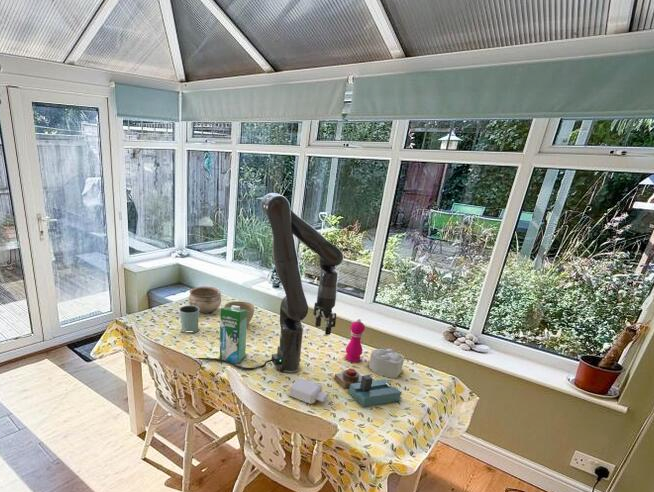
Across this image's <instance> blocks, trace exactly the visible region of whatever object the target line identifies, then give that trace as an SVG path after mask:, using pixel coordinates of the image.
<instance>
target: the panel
mask: <svg viewBox="0 0 654 492" xmlns="http://www.w3.org/2000/svg"><path fill="white" fill-rule="evenodd" d="M347 371H348V369H345V370H343V372H340V373H339V372H338V373H335V374H334V380H335V381H336V382H338V384H339V385H341V386H342V388H343V389H349V388H350V384H353V383H360V382H361V379H362V376H363V375H361V374H360V372H358V371H357V370H356V374H355V376H350V375H348V374H347Z"/></svg>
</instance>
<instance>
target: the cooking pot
mask: <svg viewBox="0 0 654 492" xmlns="http://www.w3.org/2000/svg"><path fill="white" fill-rule="evenodd" d="M189 293H190V294H189V295H188V302H187V304H189V306H197V307H198V308H199V313H201V314H209V313H212V312H213V311H215V310H217V309H219V307H220V306H221V303H222V297H221V296H222V295H221V294H222V293H221V290H220V289H219V288H217V287H214V286H196V287H193V288H191V289H190V290H189Z"/></svg>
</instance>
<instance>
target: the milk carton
mask: <svg viewBox="0 0 654 492" xmlns="http://www.w3.org/2000/svg"><path fill="white" fill-rule="evenodd" d="M219 313H220V316H219V317H220V319H219V321H220V323H219V325H220V326H219V331H220V332H219V359H222V360H226V361H230V362H232V363H234V364H236V365H238V364H239V363H241V361H242V360H243V359H244V357H246V350H247V349H246V348H247V347H246V346H247V327H248V326H247V310H244V309H240V306H234V305H232V306H231V307H225V308H224V307H221V308H220V312H219Z"/></svg>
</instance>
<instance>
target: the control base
mask: <svg viewBox="0 0 654 492" xmlns="http://www.w3.org/2000/svg"><path fill="white" fill-rule="evenodd" d="M360 385H361V382H360V383H353V384H350V388H348V394H350V395H351V396H352V397H353V398H354V399H355V400H356V402H357V403H358V404H359V405H360V406H362V407H363V408H366V407H371V406H376V405H382V404H389V403H394V402H400V401H401V397H402V391H401V390H400V389H399V388H397V387H396V386H392V383H391V382H390V381H388V380H387V379H386V378H379V379H374V380H372V385H371V390H369V391H366V392H362V391H361V387H360Z"/></svg>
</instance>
